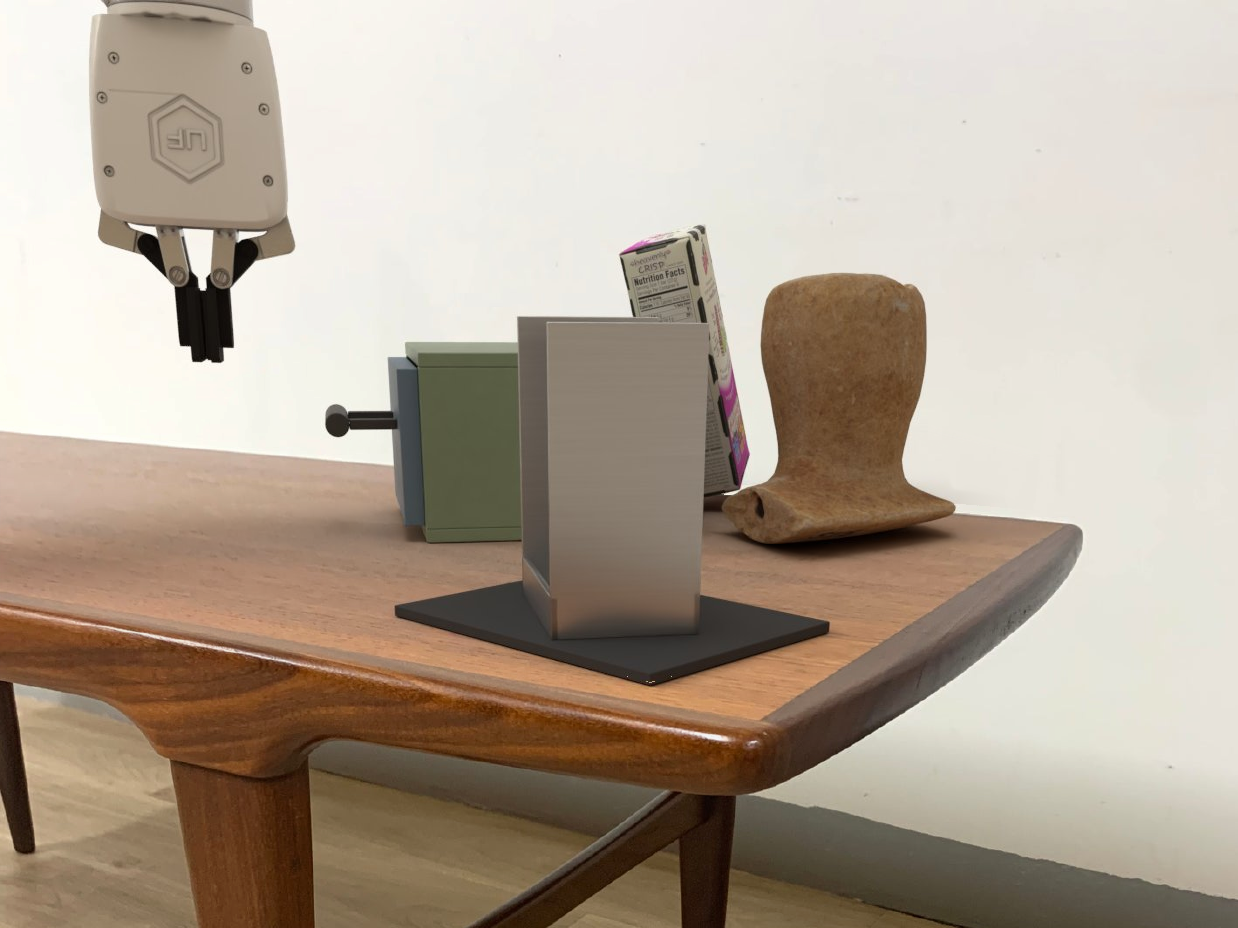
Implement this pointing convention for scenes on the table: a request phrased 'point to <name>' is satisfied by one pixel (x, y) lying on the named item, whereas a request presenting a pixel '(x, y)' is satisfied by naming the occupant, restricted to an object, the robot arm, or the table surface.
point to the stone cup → (839, 410)
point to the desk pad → (642, 659)
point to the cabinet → (469, 439)
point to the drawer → (394, 435)
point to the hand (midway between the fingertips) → (208, 360)
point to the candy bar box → (687, 293)
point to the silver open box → (612, 473)
